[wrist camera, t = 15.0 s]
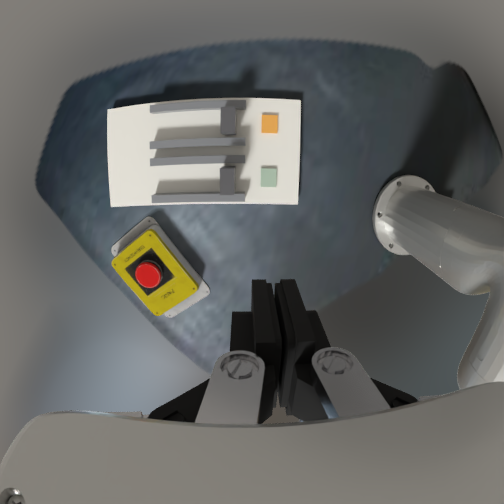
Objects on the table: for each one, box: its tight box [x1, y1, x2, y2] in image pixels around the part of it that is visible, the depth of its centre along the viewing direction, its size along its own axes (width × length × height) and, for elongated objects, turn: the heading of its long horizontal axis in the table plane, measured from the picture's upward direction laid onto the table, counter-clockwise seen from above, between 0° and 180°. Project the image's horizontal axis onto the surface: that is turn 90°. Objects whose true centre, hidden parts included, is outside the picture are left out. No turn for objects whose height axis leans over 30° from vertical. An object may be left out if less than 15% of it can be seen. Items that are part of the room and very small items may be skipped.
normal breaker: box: [220, 166, 236, 195], centre depth 34 cm, size 2×3×5 cm, turn 179°
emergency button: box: [111, 217, 210, 318], centre depth 41 cm, size 9×4×15 cm
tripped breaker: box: [220, 107, 237, 135], centre depth 31 cm, size 2×3×5 cm, turn 179°
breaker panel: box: [107, 98, 301, 207], centre depth 35 cm, size 26×14×3 cm, turn 89°
